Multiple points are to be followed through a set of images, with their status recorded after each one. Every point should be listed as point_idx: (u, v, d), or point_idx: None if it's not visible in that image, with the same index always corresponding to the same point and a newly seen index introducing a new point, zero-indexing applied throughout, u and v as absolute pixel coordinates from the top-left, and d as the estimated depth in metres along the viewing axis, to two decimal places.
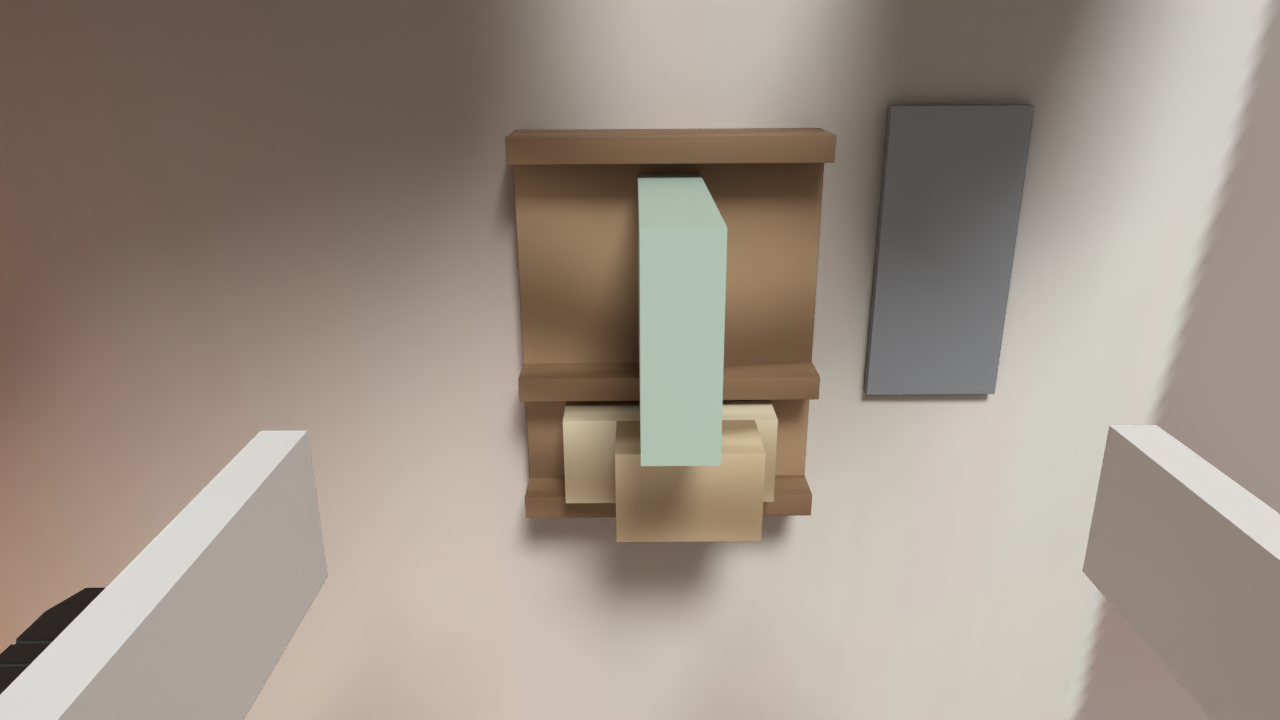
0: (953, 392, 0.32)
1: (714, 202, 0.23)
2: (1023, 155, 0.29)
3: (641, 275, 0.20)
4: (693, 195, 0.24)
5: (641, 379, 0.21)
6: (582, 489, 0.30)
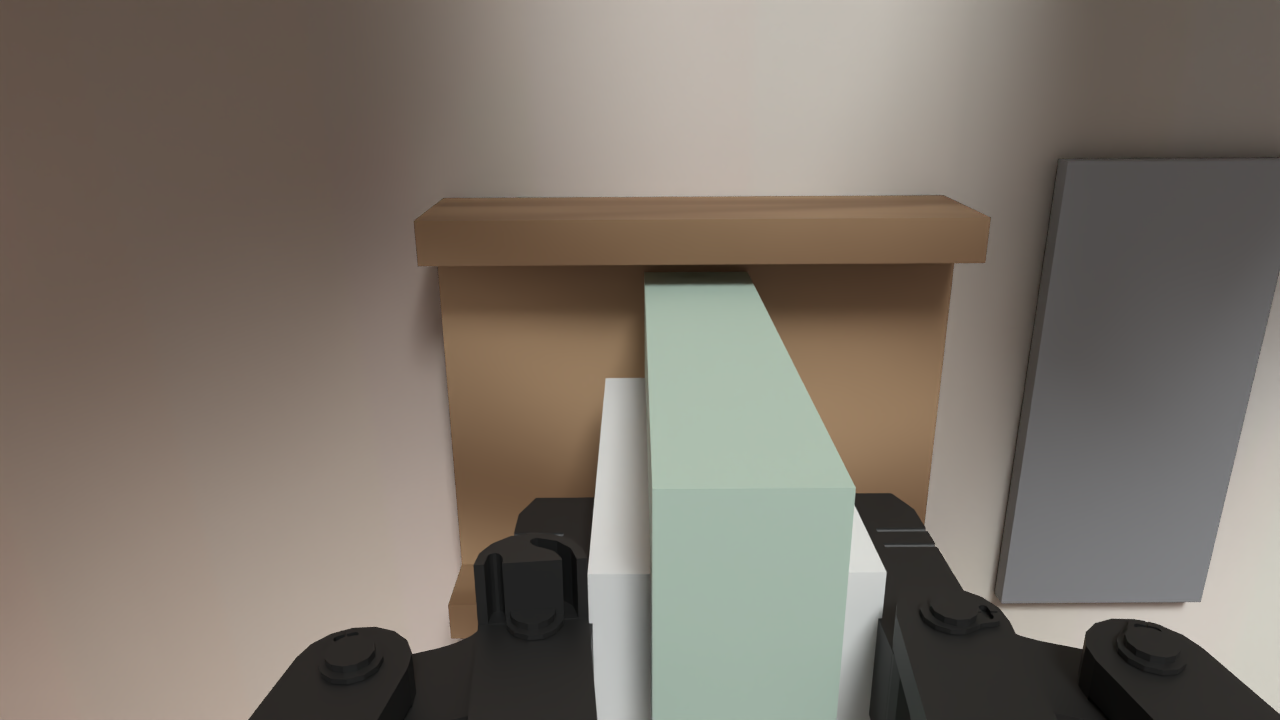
0: (1136, 600, 0.20)
1: (796, 370, 0.12)
2: (1279, 241, 0.18)
3: (655, 586, 0.09)
4: (750, 343, 0.13)
5: None
6: None
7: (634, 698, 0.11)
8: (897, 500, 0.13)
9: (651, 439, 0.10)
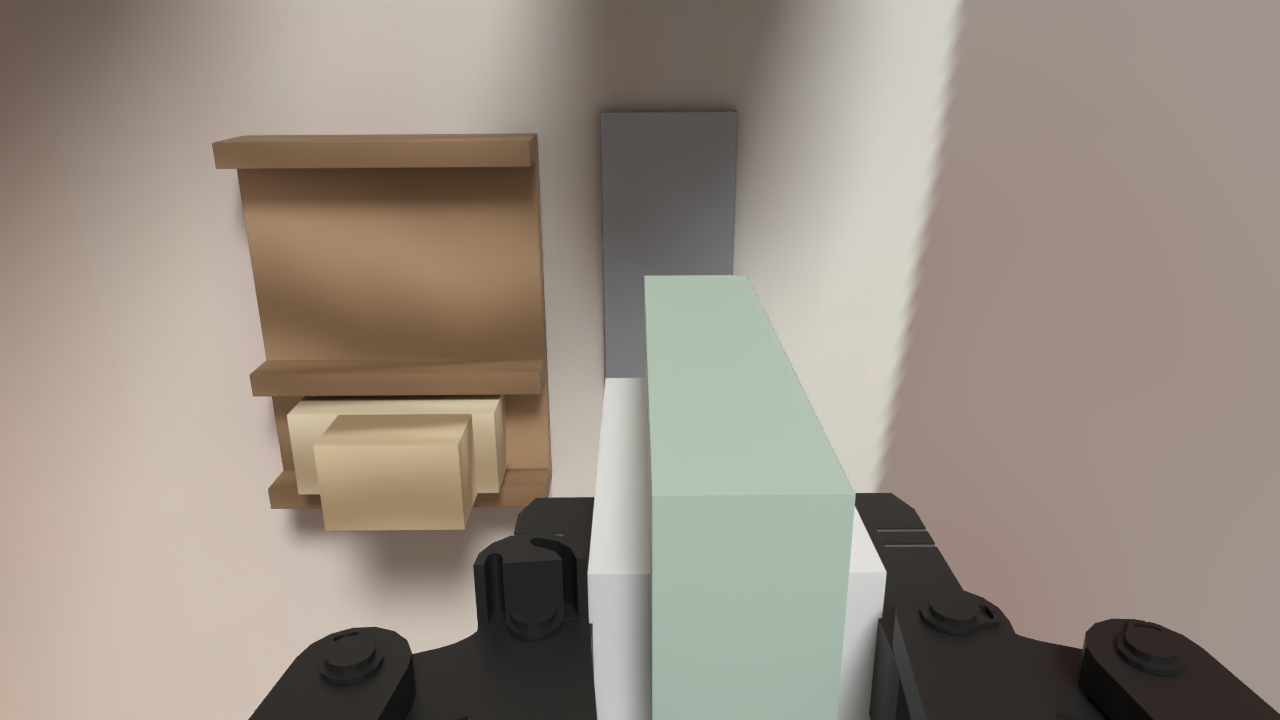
0: None
1: (796, 375, 0.12)
2: (732, 160, 0.30)
3: (656, 592, 0.09)
4: (750, 348, 0.13)
5: None
6: (313, 481, 0.31)
7: (633, 698, 0.11)
8: (897, 500, 0.13)
9: (651, 445, 0.10)
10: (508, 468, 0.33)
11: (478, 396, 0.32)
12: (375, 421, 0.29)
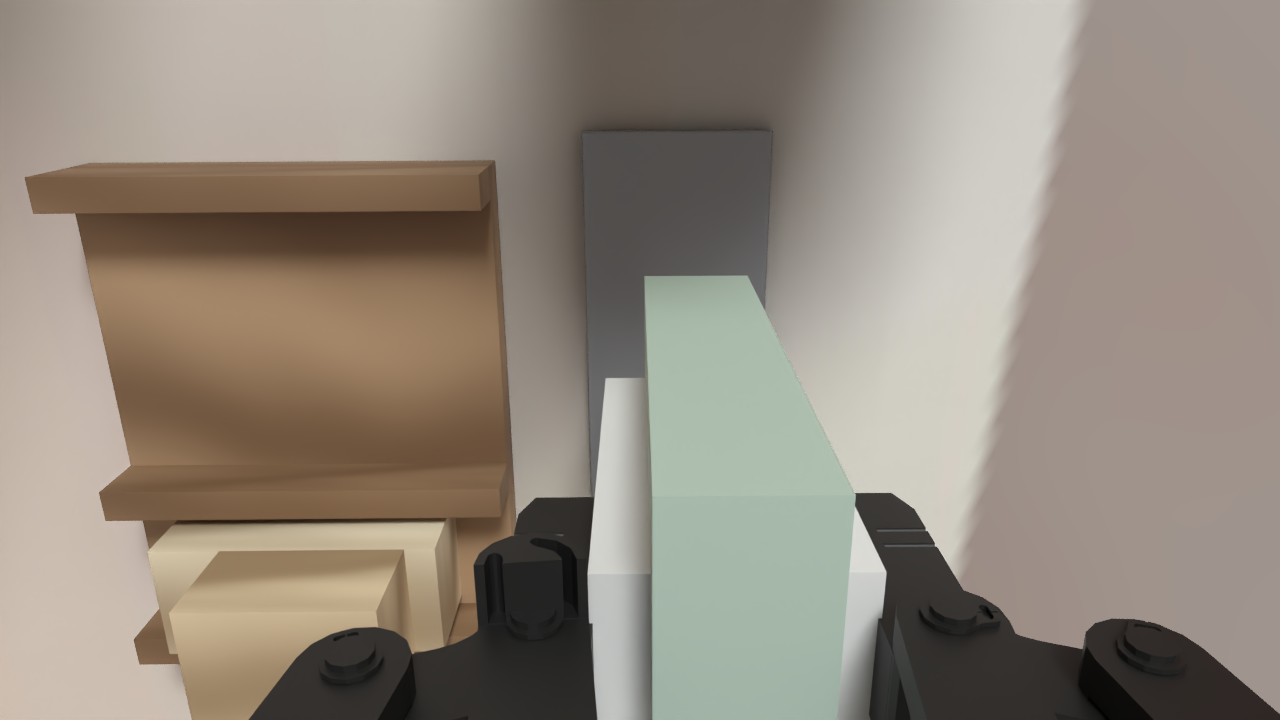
0: None
1: (796, 376, 0.12)
2: (764, 197, 0.22)
3: (656, 593, 0.09)
4: (750, 349, 0.13)
5: None
6: None
7: (633, 698, 0.11)
8: (897, 500, 0.13)
9: (651, 446, 0.10)
10: (461, 602, 0.25)
11: None
12: (268, 563, 0.21)
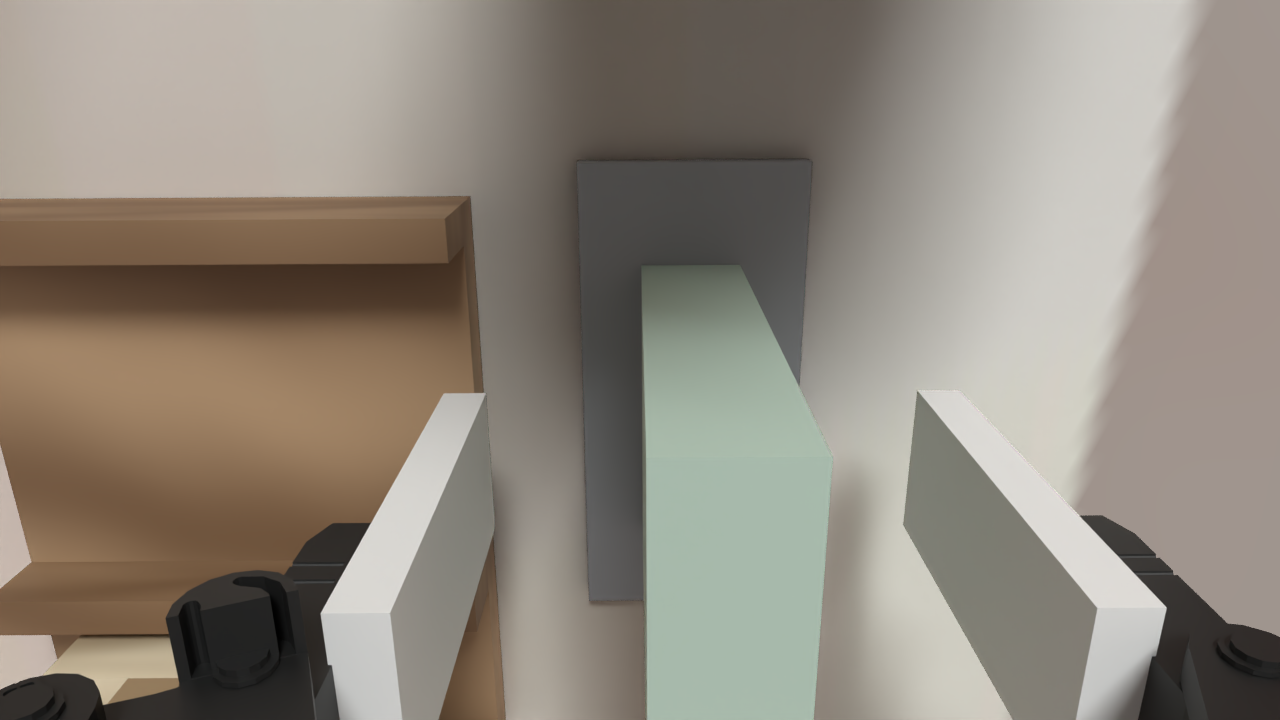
0: None
1: None
2: (801, 242, 0.18)
3: (649, 548, 0.10)
4: (740, 330, 0.14)
5: None
6: None
7: None
8: (1111, 523, 0.13)
9: (646, 415, 0.11)
10: None
11: None
12: None
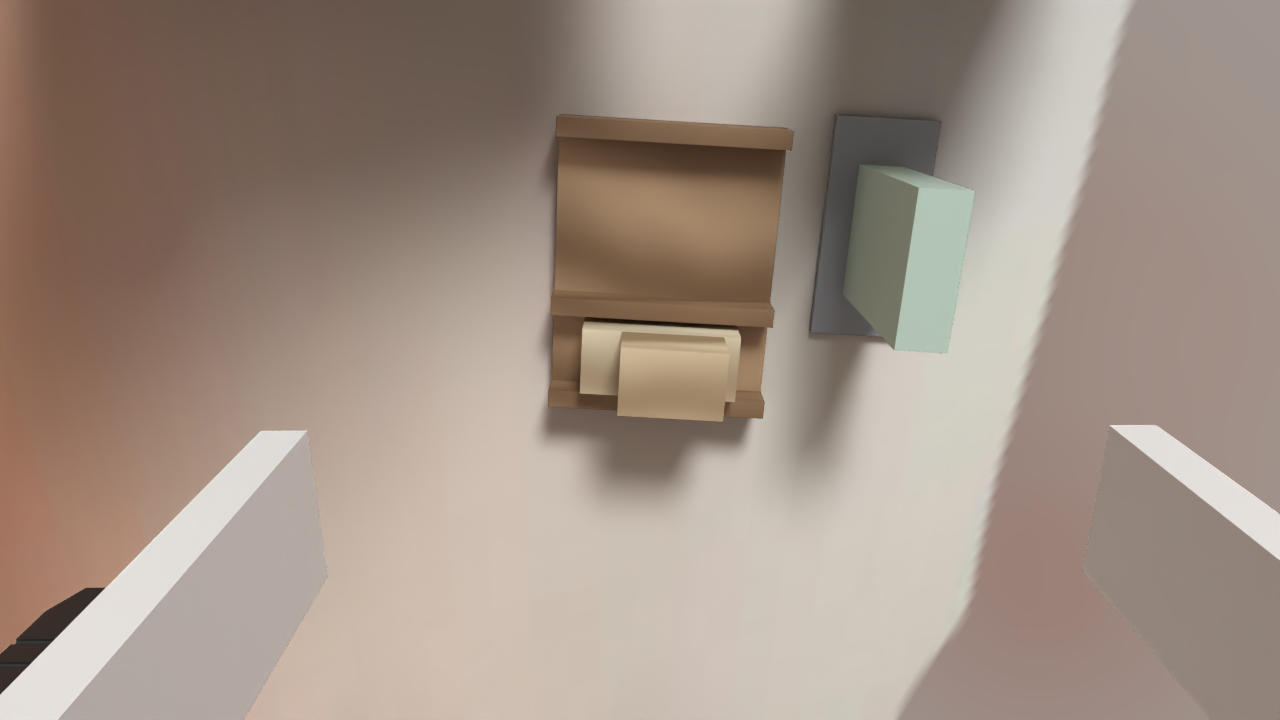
0: (876, 335, 0.42)
1: None
2: (932, 157, 0.40)
3: (915, 218, 0.32)
4: (923, 176, 0.36)
5: (904, 289, 0.32)
6: (593, 383, 0.40)
7: None
8: None
9: (909, 183, 0.32)
10: None
11: (720, 327, 0.41)
12: (654, 336, 0.38)
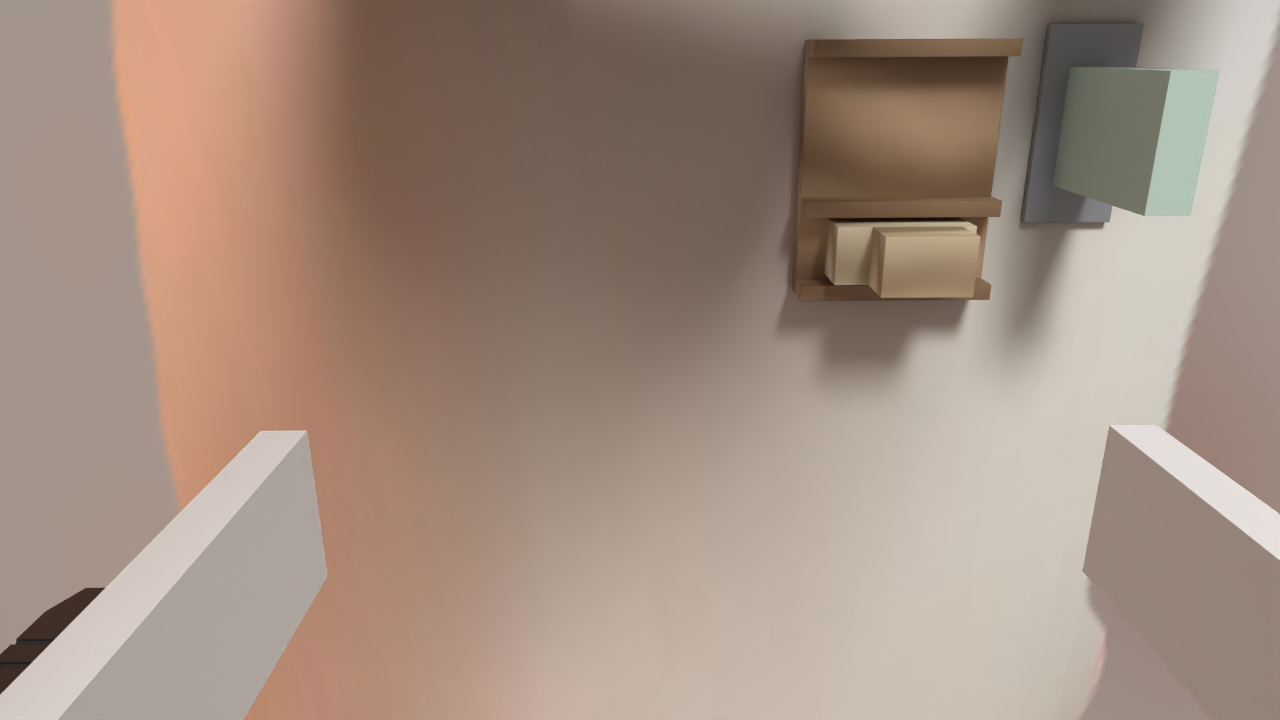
0: (1082, 221, 0.48)
1: None
2: (1134, 57, 0.45)
3: (1167, 98, 0.37)
4: (1148, 68, 0.41)
5: (1154, 161, 0.38)
6: (846, 275, 0.45)
7: None
8: None
9: (1155, 70, 0.38)
10: None
11: (951, 220, 0.46)
12: (904, 228, 0.44)
